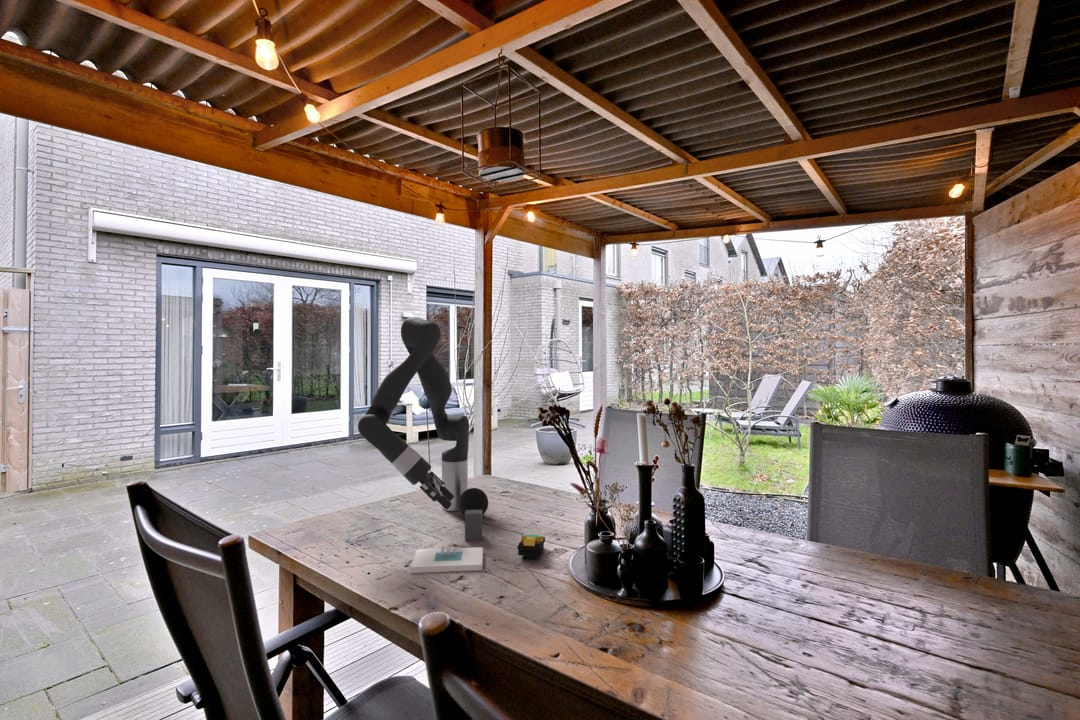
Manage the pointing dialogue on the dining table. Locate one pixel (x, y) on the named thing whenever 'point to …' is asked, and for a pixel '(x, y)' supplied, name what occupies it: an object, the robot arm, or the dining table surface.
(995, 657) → the dining table surface
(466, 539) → the block
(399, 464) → the robot arm
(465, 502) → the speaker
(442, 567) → the board
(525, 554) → the black bowl with blocks
